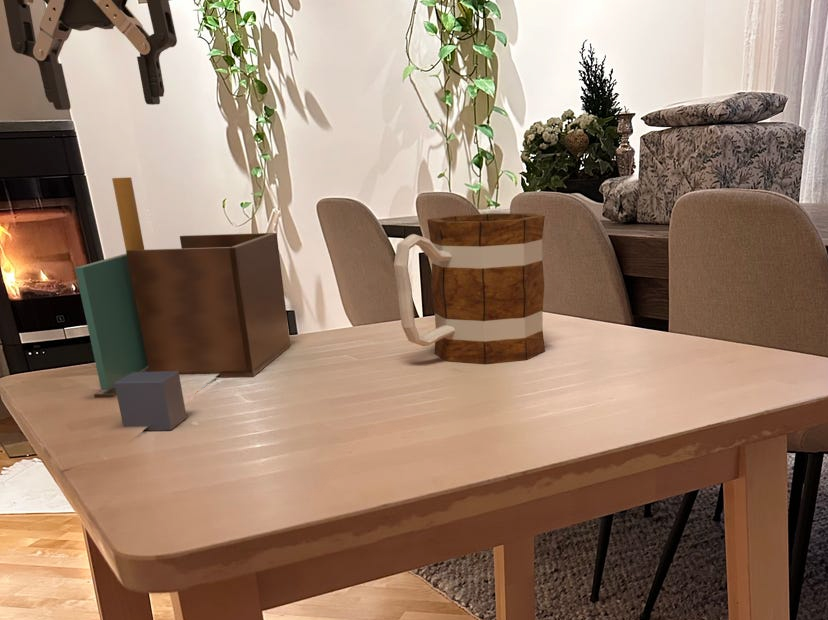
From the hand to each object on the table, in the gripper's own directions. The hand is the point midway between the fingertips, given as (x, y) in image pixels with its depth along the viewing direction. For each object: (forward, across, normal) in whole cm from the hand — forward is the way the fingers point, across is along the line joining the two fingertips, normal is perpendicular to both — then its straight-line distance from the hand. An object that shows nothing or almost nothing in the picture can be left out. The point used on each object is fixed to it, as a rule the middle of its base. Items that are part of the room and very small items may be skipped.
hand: (107, 106), depth 88 cm
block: (+27, -3, +11) cm, 29 cm away
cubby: (+27, 0, -12) cm, 29 cm away
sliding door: (+26, +6, -8) cm, 27 cm away
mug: (+27, -32, -17) cm, 45 cm away
